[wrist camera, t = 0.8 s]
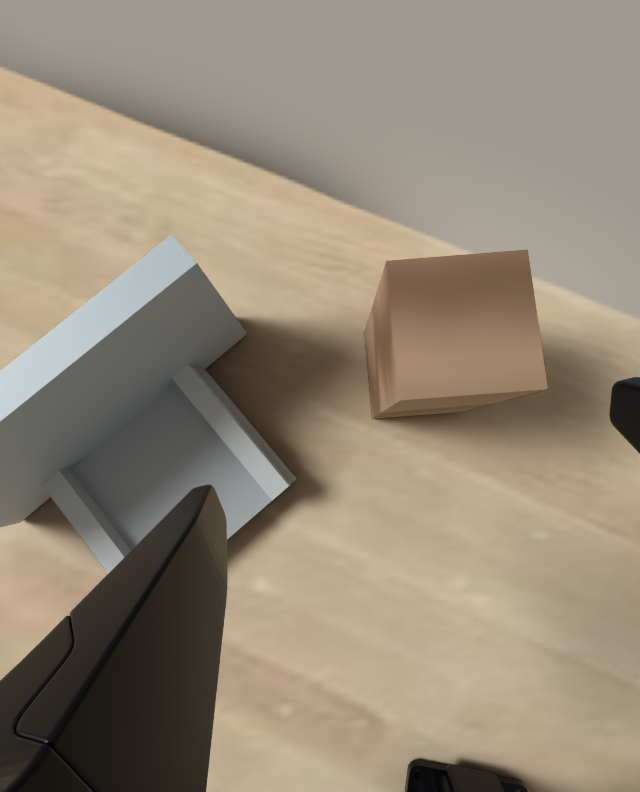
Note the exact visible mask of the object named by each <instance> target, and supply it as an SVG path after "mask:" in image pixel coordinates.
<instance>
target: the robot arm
mask: <svg viewBox="0 0 640 792" xmlns="http://www.w3.org/2000/svg"><path fill="white" fill-rule="evenodd" d="M610 420H611V423H612V424H613V426H614V427H615V428H616V429H617V430H618V431H619V432H620V433H621V434H622V435H623V436H624V438H625V439H626V440H627V441H628V442H629V443H630V444H631V445H632V446H633V447H634V448H635V449H636V450H637V451H638V452H639V453H640V377H633V378H629V379H625V380H621V381H618V382H616V383H615V384H614V385H613V387H612V393H611V403H610ZM226 597H227V521H226V516H225V512H224V510H223V507H222V505H221V503H220V500H219V498H218V495H217V493H216V491H215V488H214V487H213V486H212V485H210V484H208V485H203V486H199V487H195V488H193V489H192V490H190V491H189V492H188V494H187V495H186V496H185V497H184V498H183V499H182V500H181V501H180V502H179V503H178V504H177V505H176V506H175V507H174V508H173V509H172V510H171V511H170V512H169V513H168V514H167V515H166V516H165V517H164V518H163V519H162V520H161V521H160V522H159V523H158V524H157V525H156V526H155V527H154V528H153V529H152V530H151V531H150V532H149V533H148V534H147V535H146V536H145V537H144V538H143V539H142V540H141V541H140V542H139V543H138V544H137V545H136V546H135V547H134V548H133V549H132V550H131V551H130V552H129V553H128V554H127V555H126V556H125V557H124V558H123V559H122V560H121V561H120V562H119V563H118V564H117V565H116V566H115V567H114V568H113V569H112V570H111V571H110V573H109V574H108V575H107V576H106V577H105V578H104V579H103V580H102V581H101V582H100V583H99V584H98V585H97V586H96V587H95V588H94V589H93V590H92V591H91V592H90V593H89V594H88V595H87V596H86V597H85V598H84V599H83V600H82V601H81V602H80V603H79V604H78V605H77V606H76V607H75V608H74V609H73V610H72V611H71V612H70V616H66V617H65V618H64V619H63V620H62V621H61V622H60V623H59V624H58V625H57V626H56V627H55V628H54V629H53V630H52V631H51V632H50V633H49V634H48V635H47V636H46V637H45V638H44V639H43V640H42V641H41V642H40V643H39V644H38V645H37V646H36V647H35V648H34V649H33V650H32V651H31V652H30V653H29V654H28V655H27V656H26V657H25V658H24V659H23V660H22V661H21V662H20V663H19V664H18V665H17V666H16V667H14V668H13V669H12V670H11V671H10V672H9V673H8V674H7V675H6V676H5V677H4V678H3V679H2V680H0V792H206V786H207V777H208V767H209V758H210V749H211V739H212V730H213V720H214V711H215V701H216V692H217V683H218V673H219V664H220V654H221V645H222V636H223V626H224V617H225V607H226ZM416 770H419V771H421V773H420V774H418V775H416V774H414V772H415V771H416ZM517 790H521V792H528V791H527V789H526V787H525V785H524V784H523V783H522V782H521V781H520V780H518V779H513V778H508V777H503V776H498V775H495V774H494V773H491V772H486V771H481V770H476V769H471V768H466V767H461V766H456V765H449V766H447V765H442V764H437V763H432V762H427V761H421V760H413V761H411V762H410V763H409V765H408V770H407V778H406V786H405V792H516V791H517Z"/></svg>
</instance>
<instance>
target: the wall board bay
mask: <svg viewBox="0 0 640 792" xmlns="http://www.w3.org/2000/svg"><path fill="white" fill-rule="evenodd" d="M245 335H247V332H246V331H245V330H244V328H243V327H242V325H241V324H240V323H239V321H238V320H237V318H236V317H235V316H234V314H233V313H232V311H231V310H230V309H229V307H228V306H227V304H226V303H225V302H224V300H223V299H222V297H221V296H220V295H219V293H218V292H217V290H216V289H215V288H214V286H213V285H212V283H211V282H210V281H209V279H208V278H207V276H206V275H205V274H204V272H203V271H202V269H201V268H200V267H199V265H198V264H197V263H196V261H195V260H194V259H193V258H192V257H191V256H190V255H189V253H188V252H187V251H186V250H185V249H184V248H183V246H182V245H181V244H180V243H179V242H178V241H177V240H176V238H175V237H174V236H173V235H170V236H169V237H168V238H167V239H165V240H164V241H163V242H162V243H160V244H159V245H158V246H157V247H155V248H154V249H153V250H152V251H150V252H149V253H148V254H147V255H145V256H144V257H143V258H142V259H140V260H139V261H138V262H137V263H135V264H134V265H133V266H131V267H130V268H129V269H128V270H126V271H125V272H124V273H123V274H121V275H120V276H119V277H118V278H116V279H115V280H114V281H113V282H111V283H110V284H109V285H108V286H106V287H105V288H104V289H103V290H101V291H100V292H99V293H98V294H96V295H95V296H94V297H93V298H91V299H90V300H89V301H88V302H86V303H85V304H84V305H83V306H81V307H80V308H79V309H77V310H76V311H75V312H74V313H72V314H71V315H70V316H69V317H67V318H66V319H65V320H64V321H62V322H61V323H60V324H59V325H57V326H56V327H55V328H54V329H52V330H51V331H50V332H49V333H47V334H46V335H45V336H44V337H42V338H41V339H40V340H39V341H37V342H36V343H35V344H34V345H32V346H31V347H30V348H29V349H27V350H26V351H25V352H23V353H22V354H21V355H20V356H18V357H17V358H16V359H15V360H13V361H12V362H11V363H10V364H8V365H7V366H6V367H5V368H3V369H2V370H1V371H0V527H3V526H7V525H12V524H16V523H20V522H21V521H23V520H24V519H25V518H26V517H27V516H29V515H30V514H31V513H32V512H33V511H35V510H36V509H37V508H38V507H40V506H41V505H42V504H43V503H44V502H46V501H47V500H48V499H49V498H50V497H51V498H52V499H53V501H54V502H55V504H56V505H57V506H58V508H59V509H60V510H61V512H62V513H63V514H64V516H65V517H66V518H67V520H68V521H69V522H70V524H71V525H72V526H73V528H74V529H75V530H76V532H77V533H78V534H79V536H80V537H81V538H82V540H83V541H84V542H85V544H86V545H87V546H88V548H89V549H90V551H91V552H92V553H93V555H94V556H95V557H96V559H97V560H98V561H99V563H100V564H101V565H102V567H103V568H104V569H105V571H106V572H107V573H108V574H109V573H110V571H111V570H112V569H113V568H114V567H115V566H116V565H117V564H118V563H119V562H120V561H121V560H122V559H123V558H124V557H125V556H126V555H127V554H128V553H129V552H130V551H131V550H132V549H133V548H134V547H135V546H136V545H137V544H138V543H139V542H140V541H141V540H142V539H143V538H144V537H145V536H146V535H147V534H148V533H149V532H150V531H151V530H152V529H153V528H154V527H155V526H156V525H157V524H158V523H159V522H160V521H161V520H162V519H163V518H164V517H165V516H166V515H167V514H168V513H169V512H170V511H171V510H172V509H173V508H174V507H175V506H176V505H177V504H178V503H179V502H180V501H181V500H182V499H183V498H184V497H185V496H186V495H187V494H188V492H189V491H190V490H192V489H193V488H195V487H199V486H203V485H208V484H210V485H212V486H213V487H214V488H215V491H216V493H217V495H218V498H219V500H220V503H221V505H222V507H223V510H224V512H225V516H226V521H227V539H228V538H230V537H231V536H232V535H233V534H234V533H235V532H236V531H238V530H239V529H240V528H241V527H242V526H243V525H245V524H246V523H247V522H248V521H249V520H250V519H251V518H253V517H254V516H255V515H256V514H257V513H258V512H259V511H261V510H262V509H263V508H264V507H265V506H266V505H268V504H269V503H270V502H271V501H272V500H273V499H275V498H276V497H277V496H278V495H279V494H280V493H282V492H283V491H284V490H285V489H286V488H287V487H288V486H289V485H291V484H292V483H293V482H294V481H295V480H296V477H295V476H294V475H293V474H292V473H291V471H290V470H289V469H288V468H287V467H286V465H285V464H284V463H283V462H282V461H281V459H280V458H279V457H278V456H277V455H276V453H275V452H274V451H273V450H272V449H271V447H270V446H269V445H268V444H267V443H266V441H265V440H264V439H263V438H262V437H261V435H260V434H259V433H258V432H257V431H256V429H255V428H254V427H253V426H252V425H251V423H250V422H249V421H248V420H247V419H246V417H245V416H244V415H243V414H242V413H241V412H240V410H239V409H238V408H237V407H236V406H235V404H234V403H233V402H232V401H231V400H230V398H229V397H228V396H227V395H226V394H225V392H224V391H223V390H222V389H221V388H220V386H219V385H218V384H217V383H216V382H215V380H214V379H213V378H212V377H211V376H210V374H209V373H208V372H207V371H206V370H205V369H206V368H207V367H208V366H209V365H211V364H212V363H213V362H214V361H215V360H217V359H218V358H219V357H220V356H221V355H223V354H224V353H225V352H226V351H227V350H229V349H230V348H231V347H232V346H233V345H235V344H236V343H237V342H238V341H239V340H241V339H242V338H243V337H244V336H245Z"/></svg>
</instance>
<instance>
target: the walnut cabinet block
mask: <svg viewBox="0 0 640 792" xmlns="http://www.w3.org/2000/svg"><path fill="white" fill-rule="evenodd" d="M364 335H365V346H366V358H367V369H368V380H369V391H370V402H371V413H372V419H375V418H388V417H401V416H415V415H428V414H441V413H455V412H463V411H467V410H471V409H474V408H478V407H482V406H486V405H490V404H493V403H497V402H501V401H505V400H509V399H513V398H516V397H520V396H524V395H528V394H532V393H535V392H539V391H543V390H547V389H548V386H547V379H546V372H545V365H544V358H543V351H542V345H541V338H540V331H539V324H538V317H537V310H536V304H535V297H534V290H533V283H532V276H531V270H530V263H529V256H528V250H518V251H506V252H493V253H481V254H468V255H455V256H443V257H430V258H418V259H405V260H393V261H386V264H385V267H384V270H383V274H382V277H381V280H380V283H379V287H378V290H377V293H376V296H375V300H374V303H373V306H372V309H371V312H370V316H369V319H368V322H367V325H366V329H365V332H364Z"/></svg>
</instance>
